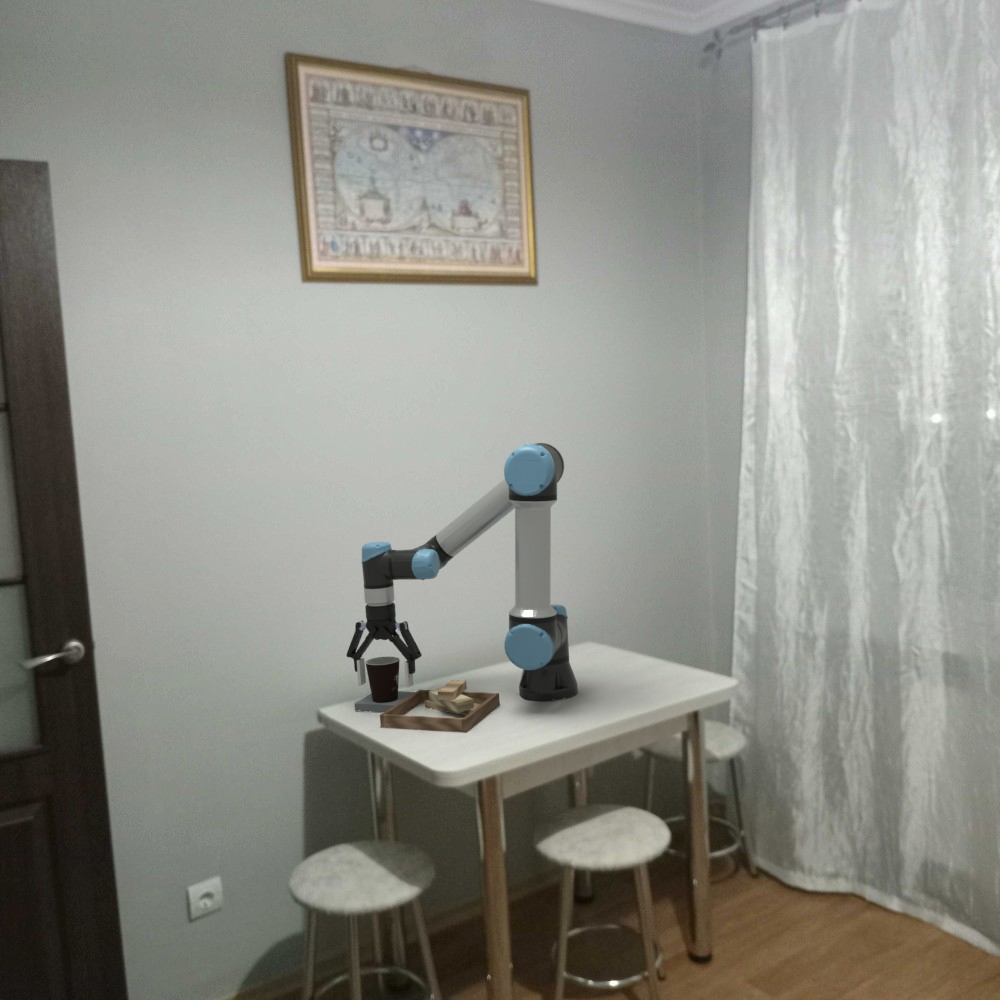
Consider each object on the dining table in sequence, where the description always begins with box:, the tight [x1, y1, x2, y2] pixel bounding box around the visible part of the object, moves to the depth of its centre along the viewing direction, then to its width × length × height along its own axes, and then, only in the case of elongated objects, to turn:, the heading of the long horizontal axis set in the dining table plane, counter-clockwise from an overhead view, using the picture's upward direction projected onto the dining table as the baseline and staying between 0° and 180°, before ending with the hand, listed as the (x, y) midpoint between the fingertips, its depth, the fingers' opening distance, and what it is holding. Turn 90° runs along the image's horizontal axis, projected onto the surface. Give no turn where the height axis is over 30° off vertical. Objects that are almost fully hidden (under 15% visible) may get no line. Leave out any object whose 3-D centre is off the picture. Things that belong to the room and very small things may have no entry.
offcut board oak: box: [423, 700, 480, 716], centre depth 245 cm, size 16×5×2 cm, turn 51°
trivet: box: [353, 690, 416, 713], centre depth 252 cm, size 12×12×2 cm
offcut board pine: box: [429, 687, 474, 714], centre depth 244 cm, size 14×5×2 cm, turn 34°
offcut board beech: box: [438, 679, 468, 700], centre depth 244 cm, size 10×4×2 cm, turn 163°
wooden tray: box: [379, 689, 501, 733], centre depth 240 cm, size 22×22×3 cm
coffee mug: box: [365, 656, 401, 703], centre depth 251 cm, size 12×9×10 cm
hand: (385, 685), depth 252 cm, fingers open, 13 cm apart
